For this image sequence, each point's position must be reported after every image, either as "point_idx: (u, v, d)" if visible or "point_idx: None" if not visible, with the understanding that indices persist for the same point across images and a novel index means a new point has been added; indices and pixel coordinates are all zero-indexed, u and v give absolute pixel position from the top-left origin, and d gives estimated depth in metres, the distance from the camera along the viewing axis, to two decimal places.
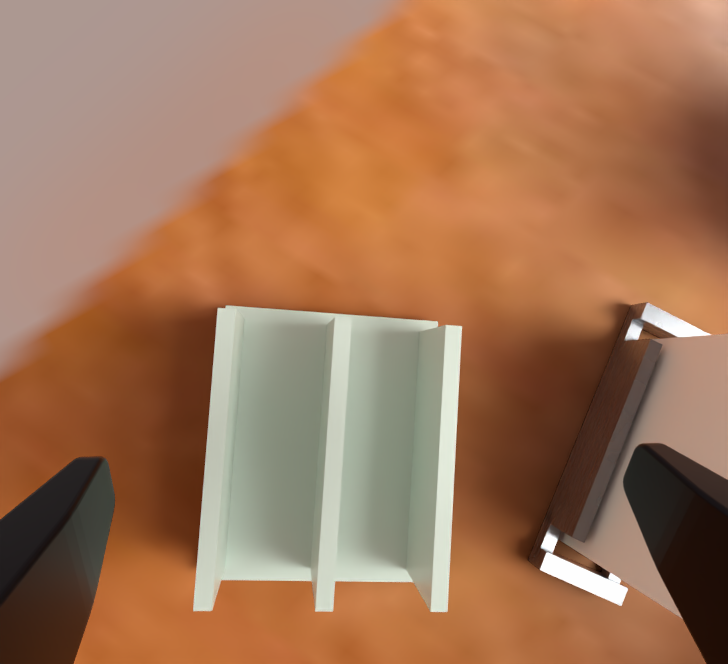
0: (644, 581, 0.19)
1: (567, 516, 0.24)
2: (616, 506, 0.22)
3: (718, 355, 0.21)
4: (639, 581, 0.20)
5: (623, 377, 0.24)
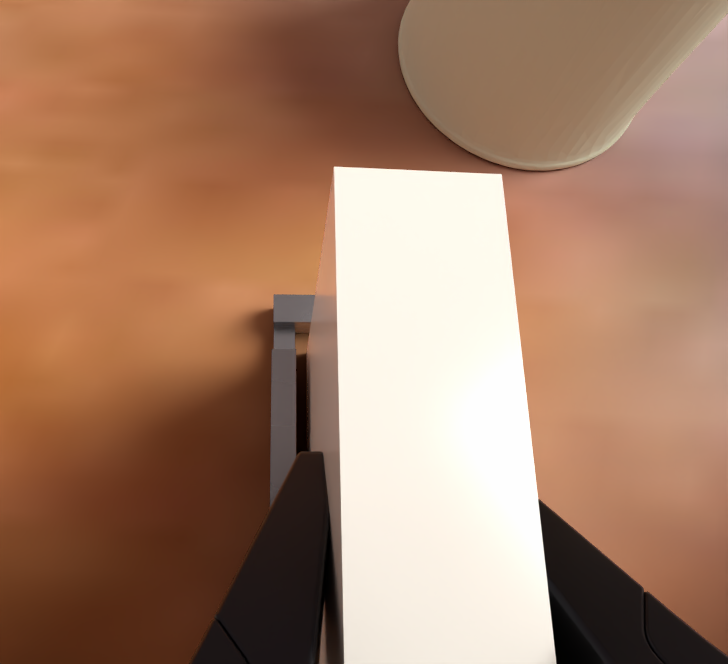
0: None
1: None
2: None
3: (316, 333, 0.11)
4: None
5: None
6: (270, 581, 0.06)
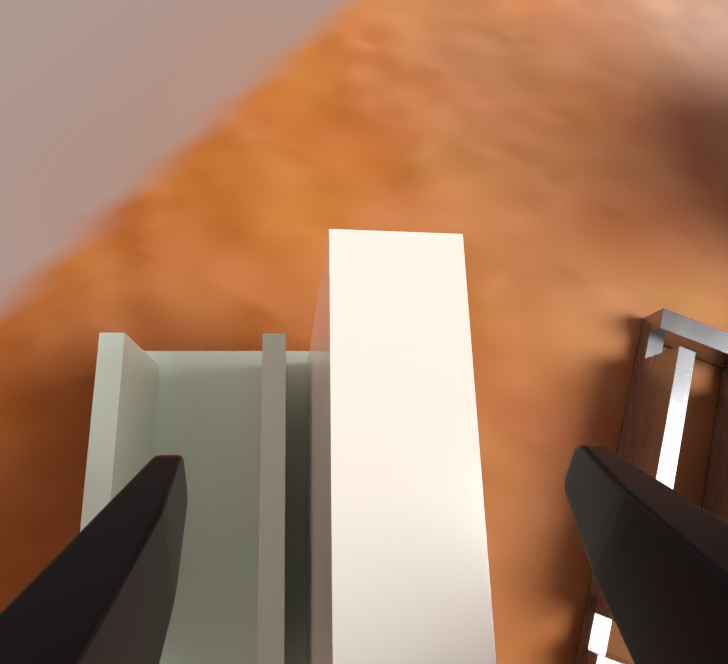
0: None
1: None
2: (310, 644, 0.13)
3: (315, 351, 0.13)
4: None
5: (654, 400, 0.19)
6: (59, 593, 0.06)
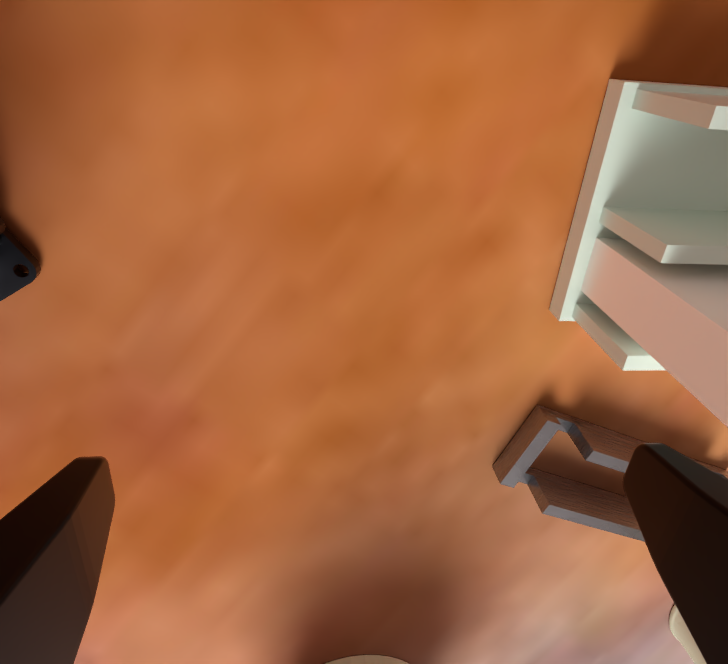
0: (709, 310, 0.16)
1: (595, 441, 0.26)
2: (705, 271, 0.19)
3: None
4: (701, 306, 0.16)
5: None
6: None
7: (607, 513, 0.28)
